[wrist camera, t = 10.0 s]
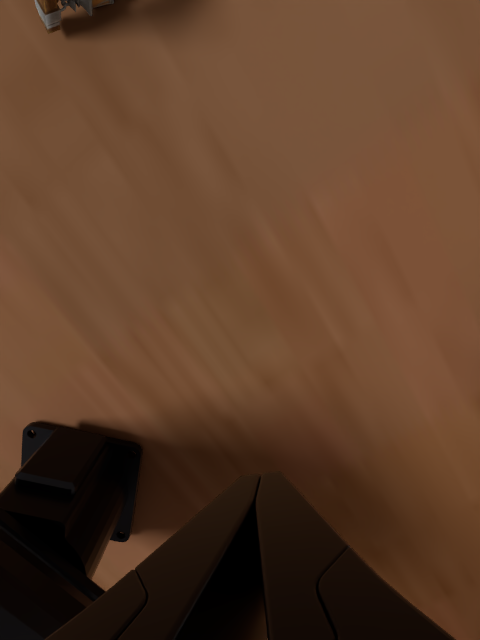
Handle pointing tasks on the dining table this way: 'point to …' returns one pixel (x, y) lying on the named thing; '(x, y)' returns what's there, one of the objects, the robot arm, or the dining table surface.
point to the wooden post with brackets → (52, 12)
